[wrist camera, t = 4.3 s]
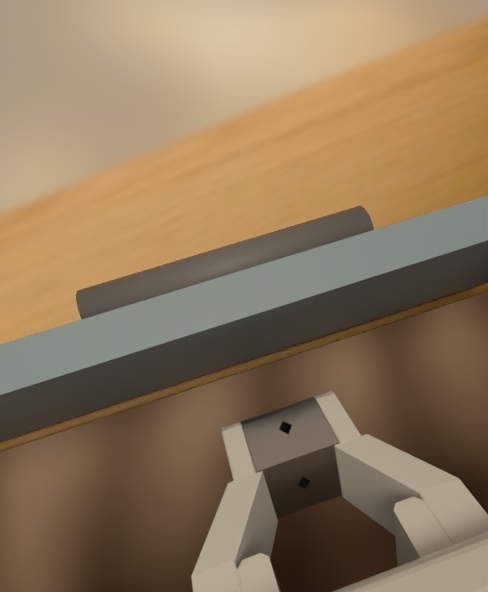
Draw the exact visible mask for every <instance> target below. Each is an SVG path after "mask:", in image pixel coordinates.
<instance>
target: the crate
mask: <svg viewBox="0 0 488 592" xmlns="http://www.w3.org/2000/svg"><path fill="white" fill-rule="evenodd" d="M329 391H333V392H334V393H335V394H336V396H337V398H338V399H339V401H340V402H341V404H342V405H343V407H344V409H345V410H346V412H347V413H348V415H349V417H350V418H351V420H352V421H353V423H354V424H355V426H356V428H357V429H358V431H359V432H360V434H361V436H362V435H365V434H368V435H370V436H373V437H375V438H377V439H379V440H381V441H383V442H385V443H387V444H389V445H391V446H393V447H395V448H397V449H399V450H401V451H403V452H406V453H408V454H410V455H412V456H414V457H416V458H418V459H420V460H422V461H424V462H426V463H428V464H430V465H432V466H434V467H437V468H439V469H441V470H443V471H445V472H447V473H449V474H451V475H453V476H455V477H457V478H459V479H460V480H461V482H462V483H463V484H464V485H465V487H466V488H467V489H468V490H469V492H470V493H471V494H472V495H473V497H474V498H475V499H476V501H477V502H478V503H479V504H480V506H481V507H482V508H483V509H484V511H485V512H486V513H487V514H488V292H485V293H482V294H479V295H476V296H473V297H470V298H467V299H464V300H461V301H458V302H455V303H452V304H448V305H445V306H442V307H439V308H436V309H433V310H430V311H427V312H424V313H421V314H418V315H415V316H412V317H409V318H406V319H403V320H400V321H397V322H394V323H391V324H388V325H385V326H382V327H379V328H376V329H372V330H369V331H366V332H363V333H360V334H357V335H354V336H351V337H348V338H345V339H342V340H339V341H336V342H333V343H330V344H327V345H324V346H321V347H318V348H315V349H312V350H309V351H306V352H303V353H300V354H296V355H293V356H290V357H287V358H284V359H281V360H278V361H275V362H272V363H269V364H266V365H263V366H260V367H257V368H254V369H251V370H248V371H245V372H242V373H239V374H236V375H233V376H230V377H227V378H224V379H220V380H217V381H214V382H211V383H208V384H205V385H202V386H199V387H196V388H193V389H190V390H187V391H184V392H181V393H178V394H175V395H172V396H169V397H166V398H163V399H160V400H157V401H154V402H151V403H148V404H144V405H141V406H138V407H135V408H132V409H129V410H126V411H123V412H120V413H117V414H114V415H111V416H108V417H105V418H102V419H99V420H96V421H93V422H90V423H87V424H84V425H81V426H78V427H75V428H72V429H68V430H65V431H62V432H59V433H56V434H53V435H50V436H47V437H44V438H41V439H38V440H35V441H32V442H29V443H26V444H23V445H20V446H17V447H14V448H11V449H8V450H5V451H2V452H0V592H193V586H192V577H191V576H192V574H193V571H194V568H195V566H196V563H197V561H198V558H199V556H200V553H201V551H202V548H203V545H204V543H205V540H206V538H207V535H208V533H209V530H210V527H211V525H212V522H213V520H214V517H215V515H216V512H217V510H218V507H219V504H220V502H221V499H222V497H223V494H224V492H225V489H226V487H227V484H228V483H229V482H232V481H233V477H232V472H231V468H230V464H229V460H228V456H227V452H226V448H225V444H224V440H223V436H222V430H221V428H222V427H226V426H229V425H232V424H235V423H239V422H240V423H241V421H244V420H247V419H250V418H253V417H256V416H260V415H263V414H266V413H269V412H272V411H275V410H277V409H280V408H283V407H286V406H289V405H292V404H295V403H297V402H300V401H303V400H306V399H309V398H312V397H314V396H317V395H320V394H323V393H326V392H329ZM241 426H242V424H241ZM242 429H243V428H242ZM243 432H244V431H243ZM244 435H245V434H244ZM277 520H278V524H277V529H276V534H275V538H274V543H273V548H272V553H271V558H270V561H271V564H272V567H273V570H274V573H275V576H276V579H277V582H278V585H279V588H280V590H281V592H333V591H335V590H338V589H341V588H343V587H346V586H348V585H351V584H354V583H356V582H359V581H361V580H364V579H367V578H369V577H372V576H374V575H377V574H379V573H382V572H385V571H387V570H390V569H392V568H395V567H397V554H396V539H395V535H394V534H392V533H391V532H389V531H388V530H387V529H385V528H384V527H383V526H381V525H380V524H379V523H377V522H376V521H374V520H373V519H372V518H370V517H369V516H368V515H366V514H365V513H364V512H362V511H361V510H360V509H358V508H357V507H355V506H354V505H353V504H351V503H350V502H349V501H347V500H346V499H345V498H343V496H340V497H337V498H334V499H331V500H328V501H325V502H322V503H319V504H316V505H313V506H309V507H307V508H304V509H302V510H299V511H297V512H294V513H292V514H289V515H287V516H284V517H282V518H279V519H277Z"/></svg>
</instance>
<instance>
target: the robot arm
mask: <svg viewBox="0 0 488 592" xmlns="http://www.w3.org/2000/svg"><path fill="white" fill-rule="evenodd" d="M241 424H242V426H241ZM242 428H243V429H242ZM221 430H222V436H223V440H224V444H225V448H226V452H227V456H228V460H229V464H230V468H231V472H232V477H233V481H232V482H229V483H228V484H227V487H226V489H225V492H224V494H223V497H222V499H221V502H220V504H219V507H218V510H217V512H216V515H215V517H214V520H213V522H212V525H211V527H210V530H209V533H208V535H207V538H206V540H205V543H204V545H203V548H202V551H201V553H200V556H199V558H198V561H197V563H196V566H195V568H194V571H193V574H192V576H191V577H192V586H193V592H281V590H280V588H279V585H278V582H277V579H276V576H275V573H274V570H273V567H272V564H271V561H270V558H271V553H272V548H273V543H274V538H275V534H276V529H277V524H278V520H277V519H279V518H282V517H284V516H287V515H289V514H292V513H294V512H297V511H299V510H302V509H304V508H307V507H309V506H313V505H316V504H319V503H322V502H325V501H328V500H331V499H334V498H337V497H340V496H343V498H345V499H346V500H347V501H349V502H350V503H351V504H353V505H354V506H355V507H357V508H358V509H360V510H361V511H362V512H364V513H365V514H366V515H368V516H369V517H370V518H372V519H373V520H374V521H376V522H377V523H379V524H380V525H381V526H383V527H384V528H385V529H387V530H388V531H389V532H391V533H392V534H394V535H395V539H396V554H397V567H395V568H392V569H390V570H387V571H385V572H382V573H379V574H377V575H374V576H372V577H369V578H367V579H364V580H361V581H359V582H356V583H354V584H351V585H348V586H346V587H343V588H341V589H338V590H335V591H333V592H488V514H487V513H486V512H485V511H484V509H483V508H482V507H481V506H480V504H479V503H478V502H477V501H476V499H475V498H474V497H473V495H472V494H471V493H470V492H469V490H468V489H467V488H466V487H465V485H464V484H463V483H462V482H461V480H460V479H459V478H457V477H455V476H453V475H451V474H449V473H447V472H445V471H443V470H441V469H439V468H437V467H434V466H432V465H430V464H428V463H426V462H424V461H422V460H420V459H418V458H416V457H414V456H412V455H410V454H408V453H406V452H403V451H401V450H399V449H397V448H395V447H393V446H391V445H389V444H387V443H385V442H383V441H381V440H379V439H377V438H375V437H373V436H370V435H368V434H365V435H362V436H361V434H360V432H359V431H358V429H357V428H356V426H355V424H354V423H353V421H352V420H351V418H350V417H349V415H348V413H347V412H346V410H345V409H344V407H343V405H342V404H341V402H340V401H339V399H338V398H337V396H336V394H335V393H334V392H333V391H329V392H326V393H323V394H320V395H317V396H314V397H312V398H309V399H306V400H303V401H300V402H297V403H295V404H292V405H289V406H286V407H283V408H280V409H277V410H275V411H272V412H269V413H266V414H263V415H260V416H256V417H253V418H250V419H247V420H244V421H241V423H240V422H239V423H235V424H232V425H229V426H226V427H222V428H221ZM243 431H244V432H243ZM244 434H245V435H244Z"/></svg>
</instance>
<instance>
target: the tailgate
mask: <svg viewBox="0 0 488 592" xmlns="http://www.w3.org/2000/svg"><path fill="white" fill-rule="evenodd" d="M487 282H488V195H486V196H483V197H480V198H476V199H473V200H470V201H467V202H463V203H460V204H457V205H454V206H450V207H447V208H444V209H441V210H437V211H434V212H431V213H428V214H424V215H421V216H418V217H415V218H411V219H408V220H405V221H401V222H398V223H395V224H392V225H388V226H385V227H382V228H379V229H375V230H374V229H373V225H372V221H371V219H370V216H369V215H368V213H367V211H366V210H365V209H364V208H363V207H361V206H358V207H355V208H351V209H348V210H345V211H341V212H338V213H335V214H331V215H328V216H325V217H321V218H318V219H315V220H311V221H308V222H305V223H301V224H298V225H295V226H291V227H288V228H285V229H281V230H278V231H275V232H271V233H268V234H265V235H261V236H258V237H255V238H251V239H248V240H245V241H241V242H238V243H235V244H231V245H228V246H225V247H221V248H218V249H215V250H211V251H208V252H205V253H202V254H198V255H195V256H192V257H188V258H185V259H182V260H178V261H175V262H172V263H168V264H165V265H162V266H158V267H155V268H152V269H148V270H145V271H142V272H138V273H135V274H132V275H128V276H125V277H122V278H118V279H115V280H112V281H108V282H105V283H102V284H98V285H95V286H92V287H88V288H85V289H82V290H78V291H77V293H76V300H77V306H78V310H79V313H80V316H81V319H82V320H79V321H76V322H72V323H69V324H66V325H62V326H59V327H56V328H53V329H49V330H46V331H43V332H40V333H36V334H33V335H30V336H27V337H23V338H20V339H17V340H14V341H10V342H7V343H4V344H1V345H0V442H2V441H5V440H8V439H11V438H14V437H17V436H20V435H23V434H26V433H29V432H32V431H35V430H38V429H41V428H44V427H47V426H51V425H54V424H57V423H60V422H63V421H66V420H69V419H72V418H75V417H78V416H81V415H84V414H87V413H90V412H93V411H96V410H100V409H103V408H106V407H109V406H112V405H115V404H118V403H121V402H124V401H127V400H130V399H133V398H136V397H139V396H142V395H145V394H148V393H152V392H155V391H158V390H161V389H164V388H167V387H170V386H173V385H176V384H179V383H182V382H185V381H188V380H191V379H194V378H197V377H200V376H204V375H207V374H210V373H213V372H216V371H219V370H222V369H225V368H228V367H231V366H234V365H237V364H240V363H243V362H246V361H249V360H252V359H256V358H259V357H262V356H265V355H268V354H271V353H274V352H277V351H280V350H283V349H286V348H289V347H292V346H295V345H298V344H301V343H304V342H308V341H311V340H314V339H317V338H320V337H323V336H326V335H329V334H332V333H335V332H338V331H341V330H344V329H347V328H350V327H353V326H356V325H360V324H363V323H366V322H369V321H372V320H375V319H378V318H381V317H384V316H387V315H390V314H393V313H396V312H399V311H402V310H405V309H408V308H412V307H415V306H418V305H421V304H424V303H427V302H430V301H433V300H436V299H439V298H442V297H445V296H448V295H451V294H454V293H457V292H460V291H464V290H467V289H470V288H473V287H476V286H479V285H482V284H485V283H487Z"/></svg>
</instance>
